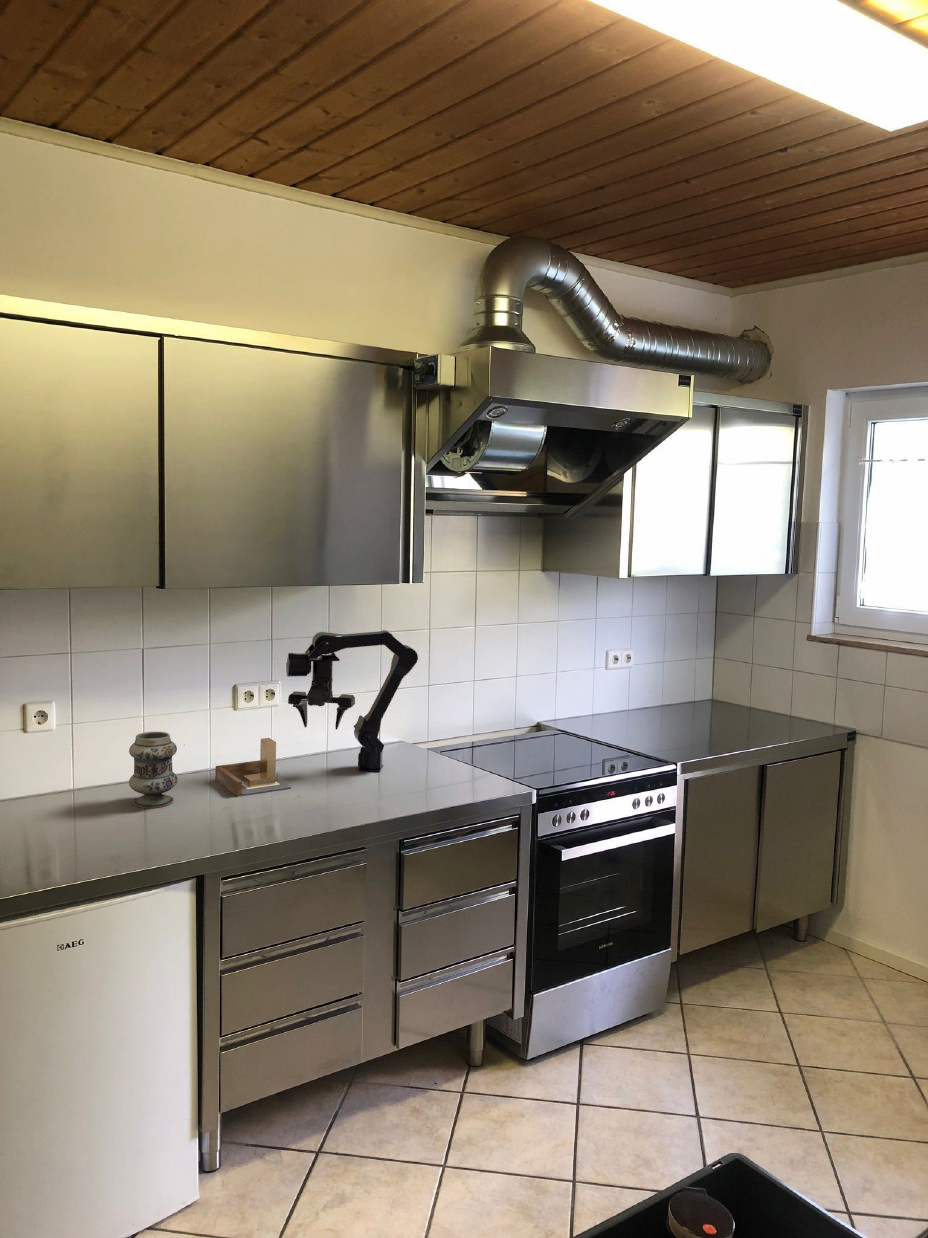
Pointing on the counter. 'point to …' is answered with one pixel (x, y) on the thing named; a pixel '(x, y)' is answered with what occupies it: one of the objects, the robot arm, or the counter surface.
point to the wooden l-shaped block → (264, 765)
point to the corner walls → (236, 774)
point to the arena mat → (263, 787)
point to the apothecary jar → (153, 769)
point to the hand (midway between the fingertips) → (321, 728)
